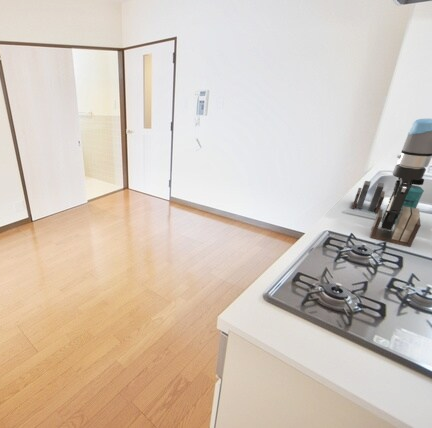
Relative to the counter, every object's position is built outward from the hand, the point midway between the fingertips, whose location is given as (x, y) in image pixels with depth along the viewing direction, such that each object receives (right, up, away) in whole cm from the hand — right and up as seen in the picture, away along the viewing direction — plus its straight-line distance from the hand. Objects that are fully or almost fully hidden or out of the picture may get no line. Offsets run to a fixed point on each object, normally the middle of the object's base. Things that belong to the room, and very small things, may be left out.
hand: (386, 224), depth 106 cm
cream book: (0, 0, 0) cm, 0 cm away
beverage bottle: (+14, -1, +10) cm, 17 cm away
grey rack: (+12, +5, +22) cm, 26 cm away
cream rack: (+2, -5, +1) cm, 5 cm away
